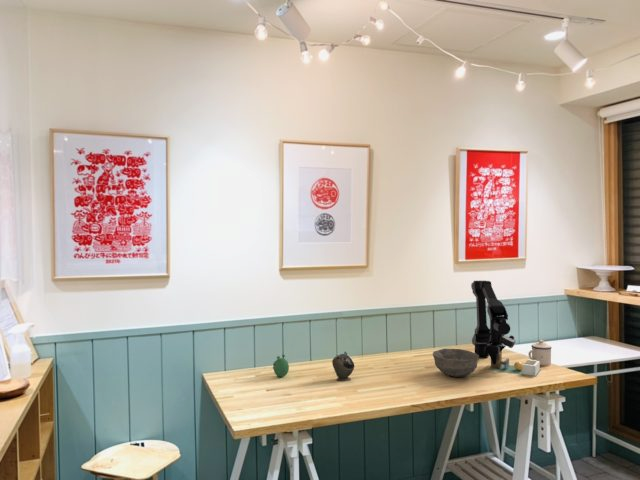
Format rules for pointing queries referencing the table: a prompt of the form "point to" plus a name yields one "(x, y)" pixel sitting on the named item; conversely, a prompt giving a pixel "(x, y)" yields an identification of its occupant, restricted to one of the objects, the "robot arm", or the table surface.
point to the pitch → (511, 370)
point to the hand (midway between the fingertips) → (496, 362)
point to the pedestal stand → (500, 362)
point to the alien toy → (281, 366)
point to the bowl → (455, 361)
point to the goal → (531, 367)
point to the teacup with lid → (541, 352)
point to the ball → (518, 366)
